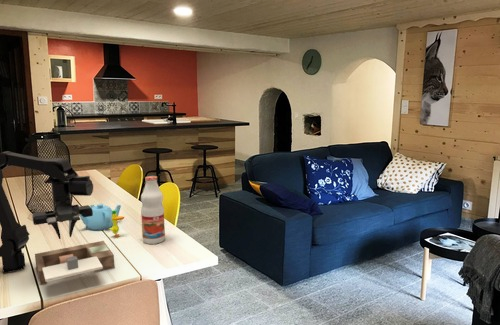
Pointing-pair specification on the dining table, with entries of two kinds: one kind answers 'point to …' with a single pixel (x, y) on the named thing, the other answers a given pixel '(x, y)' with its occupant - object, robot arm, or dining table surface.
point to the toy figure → (115, 223)
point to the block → (64, 258)
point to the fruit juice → (152, 212)
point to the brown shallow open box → (80, 252)
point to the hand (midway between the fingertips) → (65, 237)
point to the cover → (71, 268)
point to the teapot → (100, 217)
